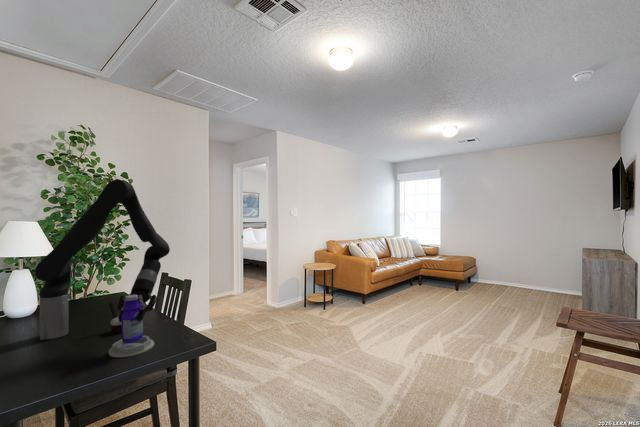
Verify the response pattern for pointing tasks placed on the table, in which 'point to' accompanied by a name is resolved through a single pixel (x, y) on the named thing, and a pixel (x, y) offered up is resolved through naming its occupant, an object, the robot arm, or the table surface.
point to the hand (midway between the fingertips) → (129, 320)
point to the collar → (131, 347)
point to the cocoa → (115, 320)
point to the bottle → (131, 320)
